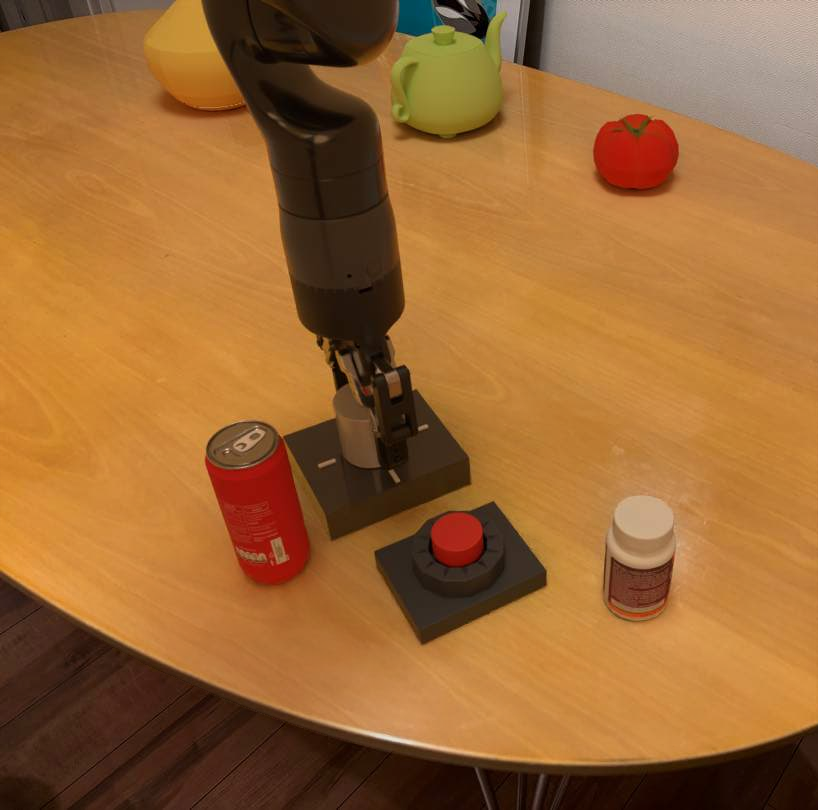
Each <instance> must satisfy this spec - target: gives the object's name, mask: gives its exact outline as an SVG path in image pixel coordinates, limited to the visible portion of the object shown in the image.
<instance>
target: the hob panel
mask: <svg viewBox="0 0 818 810" xmlns="http://www.w3.org/2000/svg"><path fill="white" fill-rule="evenodd" d="M412 391H413V398H414V404H415V411H416V418H417V425H418V431H419V434H418V435H416V436H414V437H410V438H407V449H408V456H409V459H408V461H407V462H406V463H405V464H403V465H400V466H397V467H395V468H392V469H390V470H383V469H382V468H381V467H378V468H362V467H358V466H355V465H353V464H351V463H349V462H348V461H347V460H346V459H345V458H344V456H343V454H342V450H341V445H340V440H339V435H338V430H337V425H336V420H335V417H333V418H329V419H327V420H324V421H321V422H319V423H315V424H313V425H311V426H307V427H305V428H302V429H299V430H296V431H293V432H291V433H288V434H284V435H282V438H283V440H284V442H285V446H286V450H287V454H288V458H289V462H290V466H291V470H292V472H294V474H295V476H296V478H297V480H298V482H299V484H300V485H301V488H302V489H303V491H304V493H305V495H306V496H307V499H308V501H309V502H310V504H311V506H312V508H313V510H314V512H315V514H316V515H317V517H318V519H319V521H320V522H321V525H322V526H323V528H324V530H325V532H326V534H327V536H328V537H329V539H330V541H334V540H337V539H339V538H341V537H344V536H347V535H349V534H351V533H354V532H356V531H359V530H362V529H363V528H366V527H369V526H371V525H373V524H376V523H378V522H380V521H381V522H382V521H383V520H386V519H388V518H391V517H393V516H395V515H398V514H400V513H403V512H405V511H407V510H410V509H412V508H415V507H418V506H420V505H422V504H425V503H427V502H430V501H431V500H435V499H437V498H439V497H442V496H444V495H446V494H449V493H452V492H454V491H456V490H459V489H461V488H464V487H466V486H469V485H471V484H472V480H471V478H472V477H471V466H470V457H469V455H468V454H467V453H466V451H465V449H463V447H462V446H461V444H460V443H459V442H458V441H457V439H456V438H455V437H454V435H453V434H452V433H451V432H450V430H449V429H448V428H447V427H446V425H445V424H444V422H443V421H442V420H441V419H440V417H439V416H438V415H437V413H436V412H435V411H434V409H432V407H431V406H430V405H429V403H428V402H427V401H426V399H425V398H424V396H423V395H422V394H421V392H420V391H419V390H418V389H417V388H415V389H412Z"/></svg>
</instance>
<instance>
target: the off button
mask: <svg viewBox="0 0 818 810" xmlns="http://www.w3.org/2000/svg"><path fill="white" fill-rule="evenodd" d="M431 538H432V547H433V553H434V556H435V557H436V559H437V560H438V561H439V562H440V563H442V564H444V565H446V566H450V567H464V566H467V565H470V564H472V563H473V562H475V561H476V560H477V559H478V558H479V557H480V556H481V554H482V552H483V530H482V526H481V523H480V522H479V521H478V520H477V519H476V518H475V517H474V516H472V515H469V514H466V513H451V514H447V515H445V516H443V517H441V518H440V519H438V520H437V521H436V522H435V524H434V525H433V527H432V530H431Z"/></svg>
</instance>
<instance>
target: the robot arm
mask: <svg viewBox="0 0 818 810" xmlns="http://www.w3.org/2000/svg"><path fill="white" fill-rule="evenodd" d="M201 3H202V8H203V12H204V16H205V19H206V22H207V25H208V28H209V31H210V33H211V36H212V38H213V40H214V42H215V44H216V47H217V49H218V51H219V53H220V55H221V57H222V59H223V61H224V63H225V65H226V67H227V69H228V71H229V73H230V75H231V76H232V78H233V80H234V82H235V84H236V86H237V88H238V90H239V92H240V94H241V96H242V98H243V100H244V102H245V104H246V105H245V106H246V108H247V110H248V112H249V114H250V117H251V118H252V119H253V122H254V123H255V125H256V128H257V130H258V131H259V133H260V135H261V137H262V139H263V141H264V145H265V147H266V153H267V158H268V161H269V166H270V172H271V176H272V180H273V181H272V182H273V184H274V190H275V195H276V200H277V206H278V207H277V208H278V218H279V232H280V239H281V243H282V247H283V248H282V249H283V253H284V257H285V262H286V267H287V271H288V276H289V280H290V284H291V285H290V286H291V290H292V294H293V295H292V296H293V298H294V299H293V300H294V303H295V308H296V313H297V317H298V320H299V322H300V323H301V325H302V326H303V327H304V328H305V329H306V330H307V331H309V332H310V333H312V334H313V335H315V338H316V345H317V347H319V349H320V350H321V351H322V352H323V353H324V356H325V362H326V365H327V366H328V367H329V368H330V369H331V373H332V378H333V384H334V387H335V388H334V389H335V393H336V392H337V391H338V390H339V389H340V388H341V387H343V386H344V385H346V384H348V383H349V384H350V387H351V390H352V393H353V396H354V398H355V401H356V404H357V406H358V407H360V408H364V409H365V410H366V412H367V414H368V417H369V420H370V423H371V426H372V432H373V434H374V439H375V445H376V451H377V457H378V463H379V464H380V466H381V468H382V469H383V470H390V469H392V468H395V467H397V466H400V465H403V464H405V463H406V462H407V461H408V459H409V456H408V449H407V441H406V439H407V438H410V437H414V436H416V435H418V434H419V431H418V425H417V418H416V411H415V404H414V398H413V391H412V390H413V383H412V379H411V370H410V369H409V368H408V366H407V365H406V364H401V365H398V366H397V363H396V360H395V356H396V351H395V348H394V345H393V344H394V343H393V341H392V338H391V337H390V335H389V334H388V333H389V331H390V329H392V327H393V326H394V325H395V324H396V323H397V322H398V321H399V319H400V318H401V317H402V315H403V313H404V311H405V308H406V297H405V287H404V280H403V279H404V278H403V269H402V261H401V254H400V246H399V245H400V244H399V238H398V237H399V236H398V229H397V222H396V215H395V212H394V208H393V205H392V203H391V202H392V201H391V198H390V193H389V186H388V177H387V169H386V160H385V153H384V145H383V138H382V137H383V136H382V131H381V124H380V121H379V117H378V115H377V113H376V110H375V109H374V108H373V106H372V105H371V104H369V102H367V101H366V100H364V99H363V98H361V97H359V96H356V95H355V94H352V93H349V92H346V91H344V90H342V89H340V88H337V87H335V86H332V85H330V84H329V83H327V82H325V81H324V80H322V79H321V78H320V77H319V76H317V75H316V73H315V71H314V70H313V69H312V68H311V66H316V67H317V66H318V67H326V68H336V69H353V68H359V67H363V66H366V65H368V64H370V63H372V62H373V61H375V60H377V59H378V58H379V57H380V56H381V55H382V54H383V53H384V52H385V51H386V50H387V48H388V47H389V45H390V44H391V42H392V40H393V39H394V36H395V34H396V30H397V27H398V23H399V17H400V0H201ZM369 385H371V391H372V393H373V394H371V395H366V394H365V393H364V392H363V389H362V387H361V386H363V387H366V386H369Z"/></svg>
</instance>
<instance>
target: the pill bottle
mask: <svg viewBox="0 0 818 810" xmlns="http://www.w3.org/2000/svg"><path fill="white" fill-rule="evenodd" d="M612 516H613V517H612V523H611V525H609V527H608V530H607V531H606V534H605V546H604V547H605V549H604V563H603V577H602V578H603V579H602V596H603V600H604V602H605V604H606V606H607V607H608V609H609V610H610V611H611V612H612V613H614V614H615V615H616V616H618V617H620V618H622V619H624V620H628V621H638V622H639V621H646V620H650V619H653V618H656V617H657V616H659V615H660V614H661V613H662V612H663V611H664V610H665V609H666V606H667V604H668V601H669V597H670V592H671V591H670V590H671V584H672V578H673V572H674V564H675V558H676V551H677V538H676V537H677V536H676V534H675V532H674V531H675V530H674V529H675V528H674V527H675V515H674V512H673V510H672V509H671V507H670V506H669V505H668V504H667V503H666V502H665V501H664V500H662V499H660V498H658V497H655V496H652V495H646V494H637V495H632V496H628V497H625V498H624V499H622V500H621V501H620V502H619V503H618V504H617V505H616V507H615V508H614V511H613V515H612Z"/></svg>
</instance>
